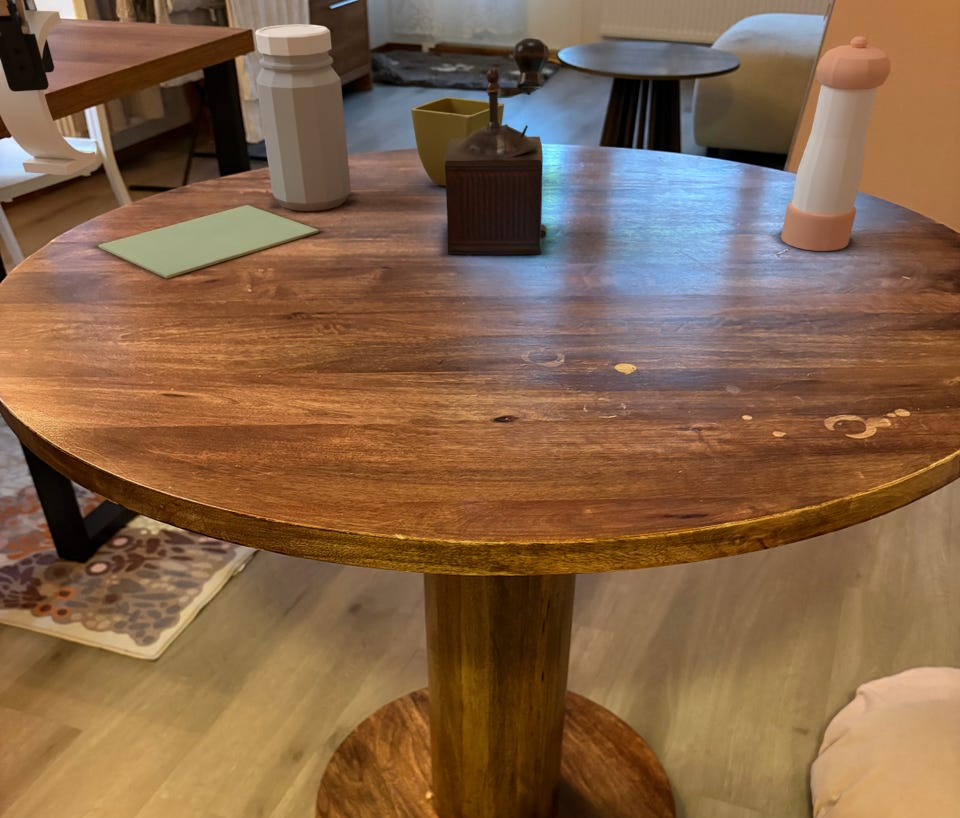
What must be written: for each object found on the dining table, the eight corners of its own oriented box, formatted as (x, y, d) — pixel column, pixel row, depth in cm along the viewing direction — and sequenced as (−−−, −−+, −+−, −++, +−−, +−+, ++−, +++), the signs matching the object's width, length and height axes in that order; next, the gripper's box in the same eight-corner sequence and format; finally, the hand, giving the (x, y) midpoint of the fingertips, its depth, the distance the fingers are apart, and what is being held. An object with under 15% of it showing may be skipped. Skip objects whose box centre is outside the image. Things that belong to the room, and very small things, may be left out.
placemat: (166, 278, 94) (166, 275, 94) (98, 247, 102) (98, 244, 101) (319, 232, 105) (318, 229, 105) (247, 207, 112) (247, 204, 112)
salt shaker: (792, 226, 106) (833, 29, 93) (856, 236, 103) (907, 34, 90) (772, 244, 101) (812, 39, 89) (838, 255, 98) (889, 45, 86)
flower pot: (448, 170, 124) (446, 95, 118) (504, 179, 121) (505, 102, 115) (413, 187, 118) (409, 108, 112) (471, 196, 115) (470, 116, 109)
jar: (290, 218, 109) (265, 39, 97) (262, 197, 115) (236, 27, 104) (364, 205, 113) (350, 31, 101) (333, 185, 119) (316, 20, 107)
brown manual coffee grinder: (547, 255, 99) (555, 61, 87) (445, 255, 99) (439, 61, 87) (543, 211, 111) (550, 34, 99) (452, 211, 111) (448, 35, 99)
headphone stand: (97, 161, 88) (59, 11, 80) (62, 178, 84) (17, 22, 76) (55, 158, 89) (13, 9, 81) (18, 175, 85) (-31, 20, 77)
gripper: (-77, -184, 76) (-1, 66, 87) (-119, -188, 63) (-23, 104, 75) (19, -184, 77) (81, 61, 89) (-3, -188, 65) (73, 98, 76)
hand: (33, 79), depth 82 cm, fingers closed on headphone stand, 7 cm apart
